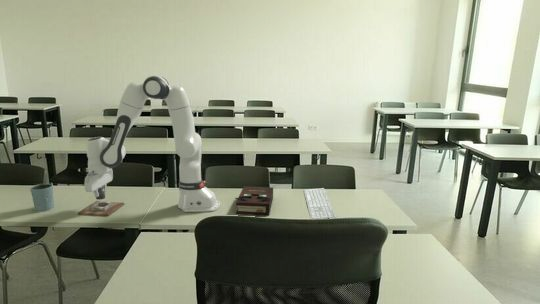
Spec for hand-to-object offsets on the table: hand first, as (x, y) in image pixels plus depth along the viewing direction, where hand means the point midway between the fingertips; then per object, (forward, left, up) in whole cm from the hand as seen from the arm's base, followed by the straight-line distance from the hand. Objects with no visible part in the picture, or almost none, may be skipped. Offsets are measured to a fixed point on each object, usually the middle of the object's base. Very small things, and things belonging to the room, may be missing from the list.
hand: (100, 194), depth 195 cm
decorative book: (-78, -17, -9) cm, 80 cm away
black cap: (0, 0, -2) cm, 2 cm away
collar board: (0, 0, -8) cm, 8 cm away
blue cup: (+30, +3, -8) cm, 31 cm away
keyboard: (-112, -25, -9) cm, 115 cm away
